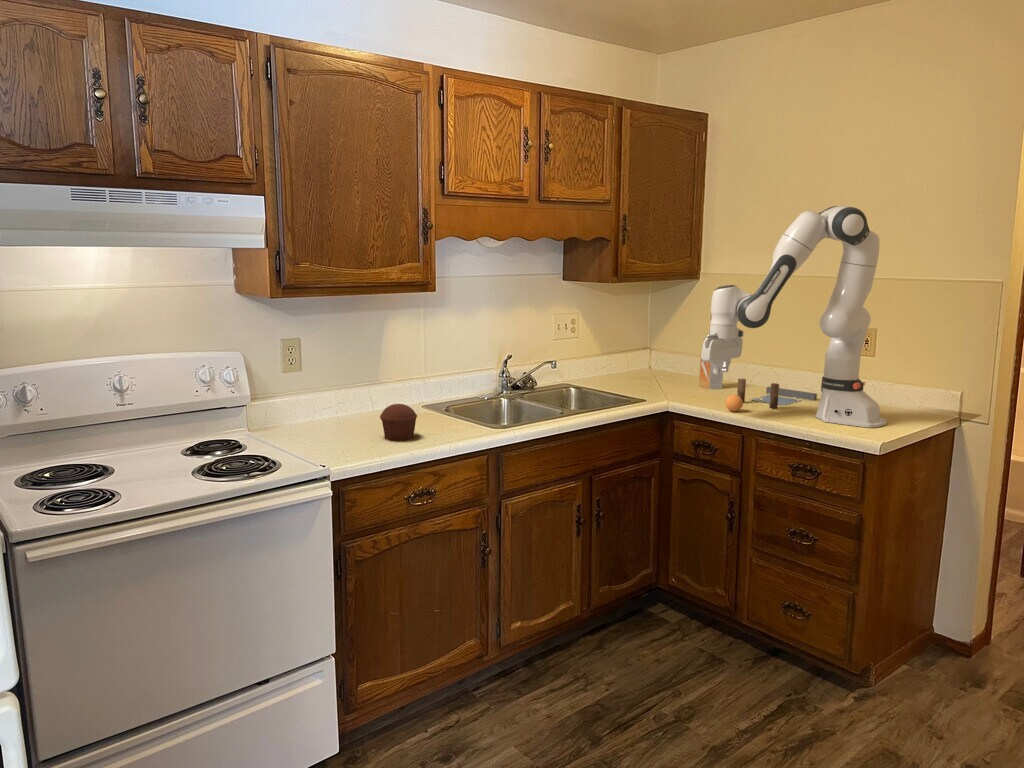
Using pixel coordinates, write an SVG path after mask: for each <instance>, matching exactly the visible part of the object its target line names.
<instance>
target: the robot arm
mask: <svg viewBox="0 0 1024 768" xmlns="http://www.w3.org/2000/svg"><path fill="white" fill-rule="evenodd" d="M826 238H827V239H831V240H835V241H838V242H839V241H840V242H841V243H842V256H841V258H840V259H841V260H840V264H839V268H838V273H837V277H836V282H835V285H834V288H833V290H832V294H831V295H830V298H829V300H828V302H827V306H826V308H825V311H824V312H823V314H822V315H821V317H820V319H819V327H820V330H821V331H822V333H823V334H824V335H826V337H829V338H830V341H829V345H828V348H827V350H826V352H825V356H824V369H823V376H822V377H821V385H820V387H821V388H820V391H821V394H820V395H821V396H820V400H819V404H818V408H817V410H816V413H815V418H817V419H819V420H821V421H822V422H824V423H829V424H839V425H847V426H853V427H862V428H870V429H871V428H872V429H873V428H879V427H883V426H886V425H887V424H888V420H887V419H886V418H882V417H881V409H880V408H881V407H880V405H879V403H878V402H877V401H876V400H874V399H873V398H872V397H871V396H870V395H869V394H867V392H866V391H864V386H866V383H867V382H866V381H862V380H861V379H860V376H859V375H860V366H861V357H862V351H863V348H864V345H865V340H866V336H867V333H868V328H869V326H870V325H871V314H870V312H869V310H868V309H866V307H864V306H865V305H864V304H865V302H866V299H867V298H868V295H869V294H870V293H871V291H872V288H873V283H874V278H875V275H876V270H877V267H878V266H877V265H878V262H879V254H880V237H879V235H878V234H877V233H876V232H874V231H872V230H870V227H869V225H868V220H867V217H866V215H865V212H863V211H862V210H861V209H859V208H858V207H853V206H848V205H835V206H830V207H828V208H826V209H824V210H823V211H821V212H816V211H814V210H813V211H812V210H806V211H803V212H801V213H800V214H799V215H798V216H797V217H796V218H795V219H794V220H793V221H792V222H791V224H790V225H789V226H788V228H786V230H785V231H784V232H783V234H782V235H781V237H780V238H779V240H778V242H777V244H776V246H775V248H774V249H773V252H772V262H771V266H770V270H769V271H768V273H767V274H766V276H765V277H764V279H763V281H762V282H761V284H760V285H759V286H758V288H757V289H756V291H755V292H754V293H753V294H751V293H749V292H747V291H745V290H743V289H741V288H740V287H738V286H737V285H736V284H730V285H729V284H727V285H721V286H718V287H717V288H715V289H714V290H713V292H712V296H711V301H710V302H711V303H710V314H711V320H710V321H709V333H708V335H707V336H706V338H704V341H703V344H702V349H701V355H700V360H701V359H702V361H704V362H711V364H712V367H713V373H714V374H718V373H720V368H719V367H718V364H719V361H721V360H724V362H723V367H722V372H723V373H727V372H729V369H730V365H731V362H732V359H738V358H740V357H741V356H742V352H743V342H744V341H743V337H744V335H745V332H744V330H742V329H740V328H738V327H737V326H738V323H741V325H742V326H744V327H746V328H748V329H757V328H760V327H762V326H764V325H765V324H766V323H767V322H768V320H769V319H770V315H771V310H772V305H773V304H774V301H775V300H776V299H777V296H778V295H779V294H780V292H781V290H782V289H783V288H784V286H785V285H786V283H787V282H788V280H789V279H790V278H791V277H792V276H793V275H794V274H795V273H796V272H797V271H798V269H799V268H801V266H802V265H804V263H805V262H806V261H807V260H808V259H809V257H810V256H811V255H812V253H813V252H814V250H815V248H816V247H817V246H818V244H820V242H821V241H823V240H824V239H826Z"/></svg>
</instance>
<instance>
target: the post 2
mask: <svg viewBox="0 0 1024 768" xmlns="http://www.w3.org/2000/svg"><path fill="white" fill-rule="evenodd" d="M770 387H771V392H770V394H769V395H770V403H769V407H768V408H769V409H770V408H772V409H771V410H777V409H778V406H779V405H778V397H779V395H778V394H779V388H780V384H779V383H777V382H776V383H775V382H774V383H770Z"/></svg>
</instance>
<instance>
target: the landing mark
mask: <svg viewBox="0 0 1024 768" xmlns="http://www.w3.org/2000/svg"><path fill="white" fill-rule="evenodd" d="M760 397H761V398H763V399H762V400H760V399H761V398H759V397H754V398H751V399H752V400H754V401H753V402H758V401H760V402H759V403H764V402H766V403H765V404H770V394H768V395H763V396H760ZM758 398H759V399H758ZM751 399H749V401H752V400H751ZM798 400H799V402H802V401H803V399H797V398H791V397H784V396H778V406H782V405H785V406H787V404H788V405H791V403H792V404H794V403H793V402H796V403H798V402H797V401H798Z"/></svg>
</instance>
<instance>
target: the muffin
mask: <svg viewBox="0 0 1024 768" xmlns="http://www.w3.org/2000/svg"><path fill="white" fill-rule="evenodd" d="M417 418H418V415H417V412H415V410H414V409H413V408H412V407H410V406H408V405H407V404H404V403H394V404H391V405H389V406H386V407H385V408H384V410H382V413H380V415H379V419H380V420H381V422H382V430H383V435H384V439H386V440H387V441H388V440H389V441H399V442H400V441H409V440H411V439H413V438H414V437H415V436H414V435H415V428H416V421H417Z"/></svg>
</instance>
